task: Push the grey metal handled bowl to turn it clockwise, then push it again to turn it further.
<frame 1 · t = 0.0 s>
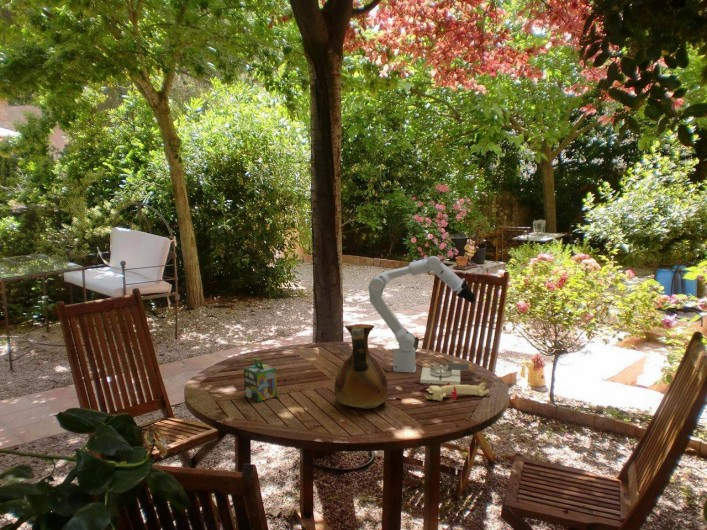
hand: (473, 299, 254), 32 cm above the table, tool tilted 50°, fingers open, 7 cm apart
brown vase: (361, 405, 223), on the table
grey metal handled bowl: (451, 368, 252), point 4 cm above the table, hinge at 0.0°
cup: (410, 354, 287), on the table
chalk box: (260, 397, 230), on the table
cap plate: (440, 377, 253), on the table
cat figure: (456, 398, 231), on the table
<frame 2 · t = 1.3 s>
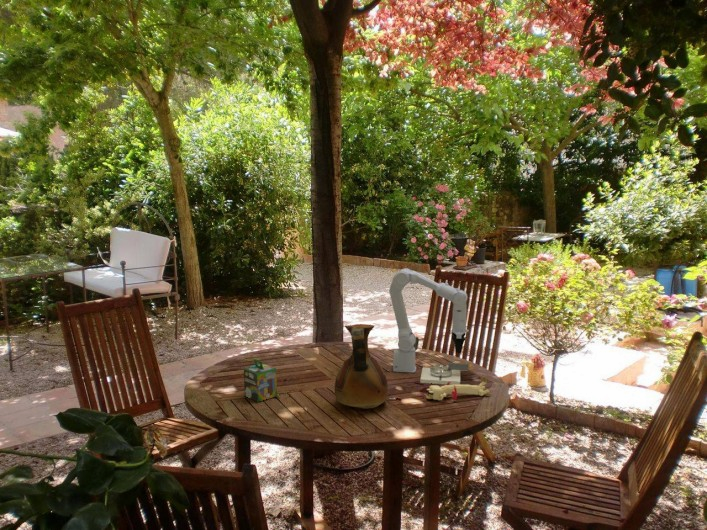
hand: (458, 350, 256), 10 cm above the table, tool pointing down, fingers open, 5 cm apart
nothing on the table moved.
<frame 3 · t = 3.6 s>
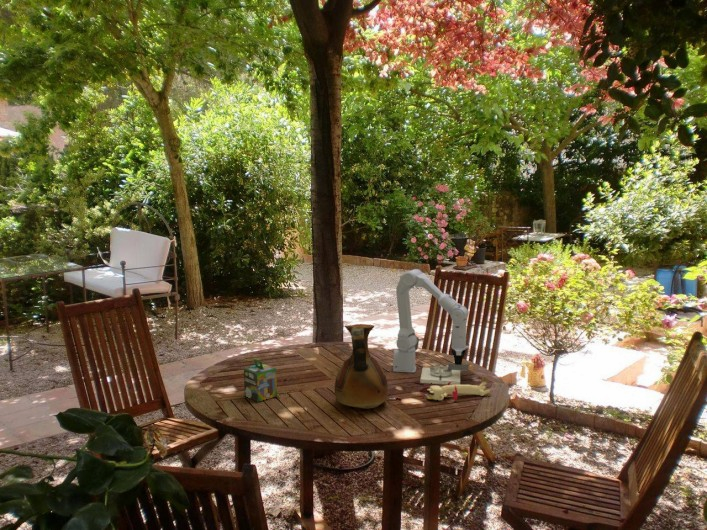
hand: (458, 367, 252), 5 cm above the table, tool pointing down, fingers closed, pressing on grey metal handled bowl
grey metal handled bowl: (451, 369, 252), point 4 cm above the table, hinge at 2.6°, touching gripper
everything else where it was.
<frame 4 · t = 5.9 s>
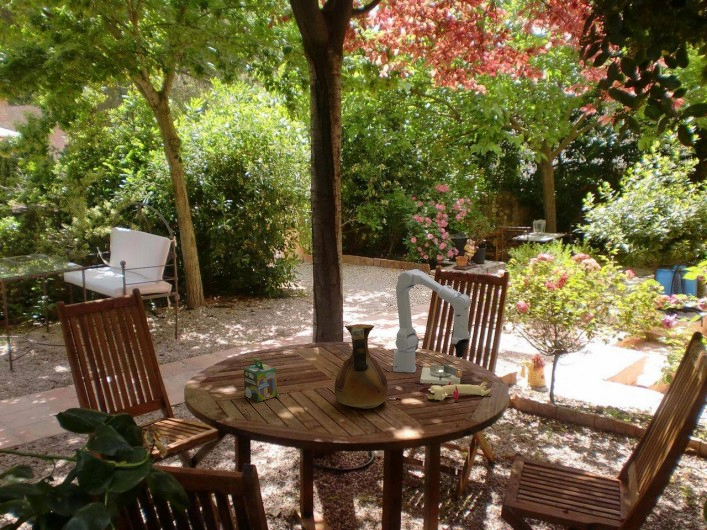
hand: (459, 357, 247), 10 cm above the table, tool pointing down, fingers closed
grey metal handled bowl: (447, 371, 249), point 4 cm above the table, hinge at 52.3°
everything else where it was.
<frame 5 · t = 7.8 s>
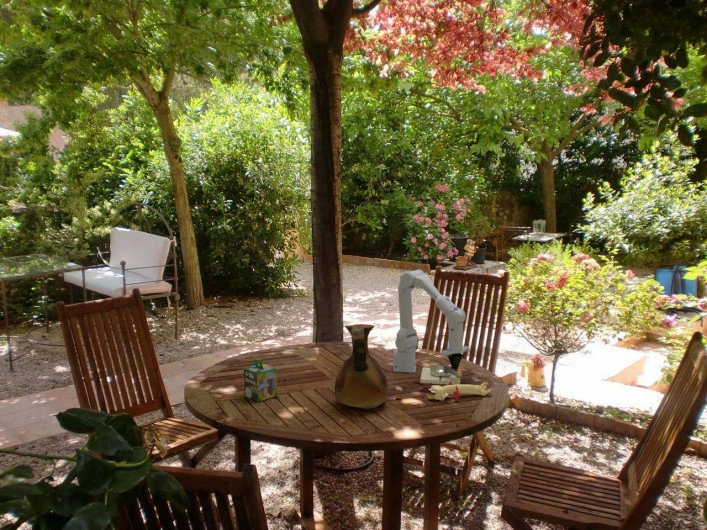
hand: (454, 371, 247), 5 cm above the table, tool pointing down, fingers closed, pressing on grey metal handled bowl
grey metal handled bowl: (447, 371, 249), point 4 cm above the table, hinge at 52.4°, touching gripper
everything else where it was.
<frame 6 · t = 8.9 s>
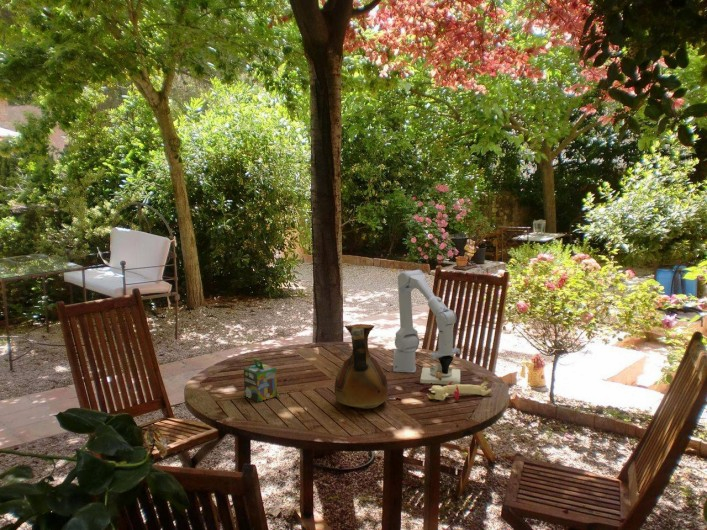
hand: (444, 373, 244), 5 cm above the table, tool pointing down, fingers closed, pressing on grey metal handled bowl
grey metal handled bowl: (440, 371, 248), point 4 cm above the table, hinge at 92.8°, touching gripper
everything else where it was.
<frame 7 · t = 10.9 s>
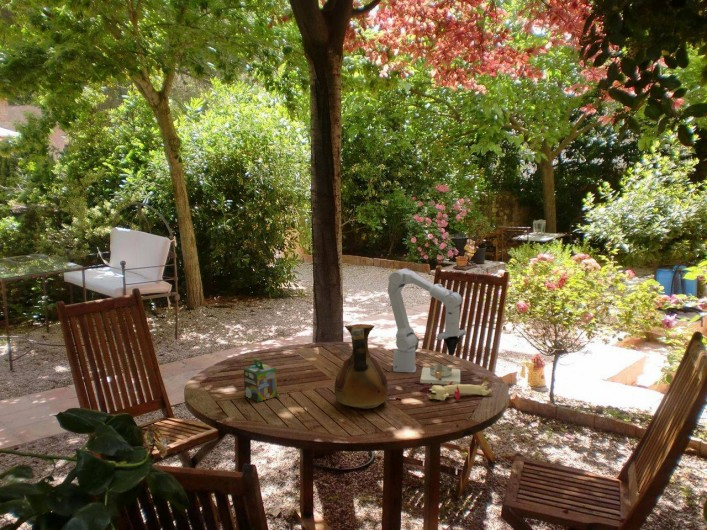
hand: (451, 354, 251), 10 cm above the table, tool pointing down, fingers closed
grey metal handled bowl: (439, 371, 248), point 4 cm above the table, hinge at 93.9°
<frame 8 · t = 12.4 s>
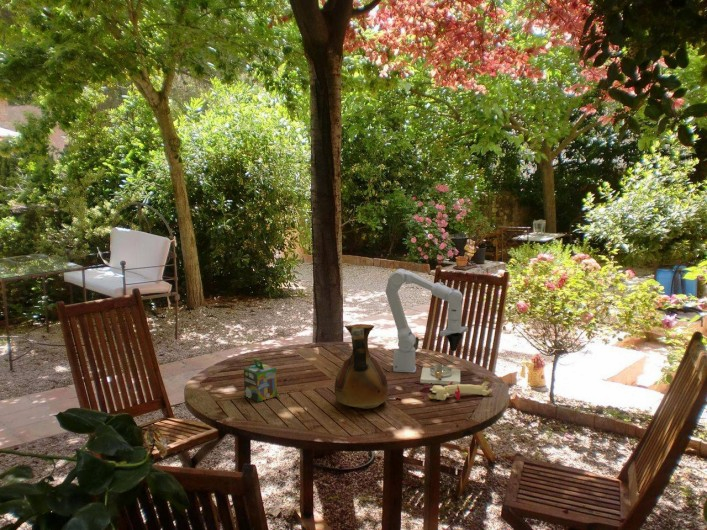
hand: (453, 350, 257), 10 cm above the table, tool pointing down, fingers closed
at the end: grey metal handled bowl at +94° (first picture: +0°); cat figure moved 1.3 cm from its start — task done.
